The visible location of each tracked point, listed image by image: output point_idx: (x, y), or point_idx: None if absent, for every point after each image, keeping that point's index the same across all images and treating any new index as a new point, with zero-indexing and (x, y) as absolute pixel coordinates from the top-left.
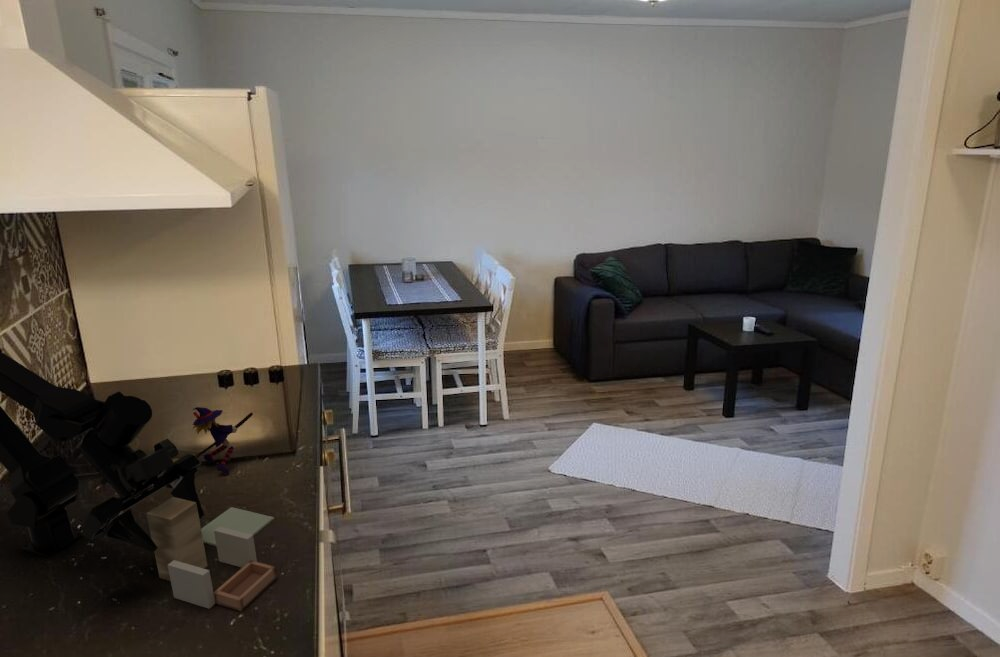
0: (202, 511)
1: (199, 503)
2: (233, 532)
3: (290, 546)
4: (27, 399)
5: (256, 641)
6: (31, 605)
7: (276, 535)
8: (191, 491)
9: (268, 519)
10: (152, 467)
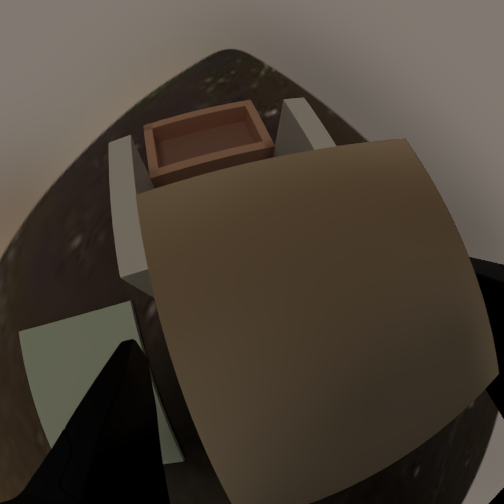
0: (116, 350)
1: (93, 387)
2: (121, 195)
3: (67, 208)
4: None
5: (267, 73)
6: (479, 430)
7: (51, 270)
8: (69, 470)
9: (27, 335)
10: None
